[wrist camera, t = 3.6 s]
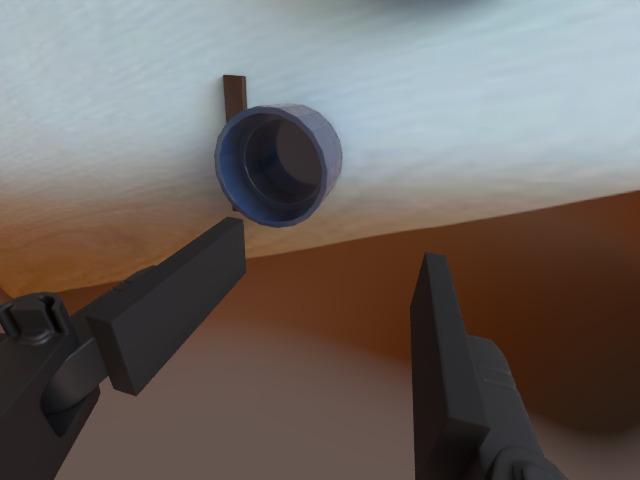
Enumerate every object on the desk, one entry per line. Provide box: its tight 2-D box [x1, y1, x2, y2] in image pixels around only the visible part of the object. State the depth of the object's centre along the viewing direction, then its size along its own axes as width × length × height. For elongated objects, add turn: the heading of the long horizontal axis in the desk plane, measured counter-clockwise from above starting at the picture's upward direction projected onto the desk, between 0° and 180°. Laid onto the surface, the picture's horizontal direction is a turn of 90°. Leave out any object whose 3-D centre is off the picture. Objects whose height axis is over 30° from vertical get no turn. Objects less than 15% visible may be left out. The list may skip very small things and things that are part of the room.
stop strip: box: [223, 75, 247, 212], centre depth 31 cm, size 2×14×1 cm, turn 176°
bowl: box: [215, 104, 342, 228], centre depth 27 cm, size 10×10×7 cm
